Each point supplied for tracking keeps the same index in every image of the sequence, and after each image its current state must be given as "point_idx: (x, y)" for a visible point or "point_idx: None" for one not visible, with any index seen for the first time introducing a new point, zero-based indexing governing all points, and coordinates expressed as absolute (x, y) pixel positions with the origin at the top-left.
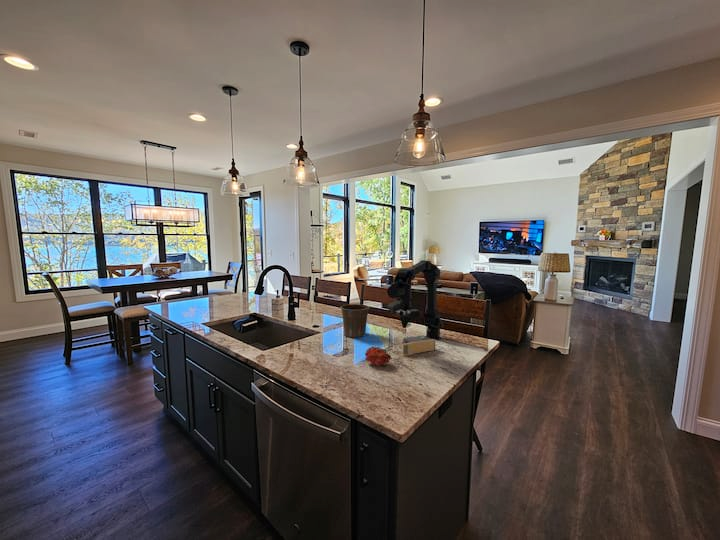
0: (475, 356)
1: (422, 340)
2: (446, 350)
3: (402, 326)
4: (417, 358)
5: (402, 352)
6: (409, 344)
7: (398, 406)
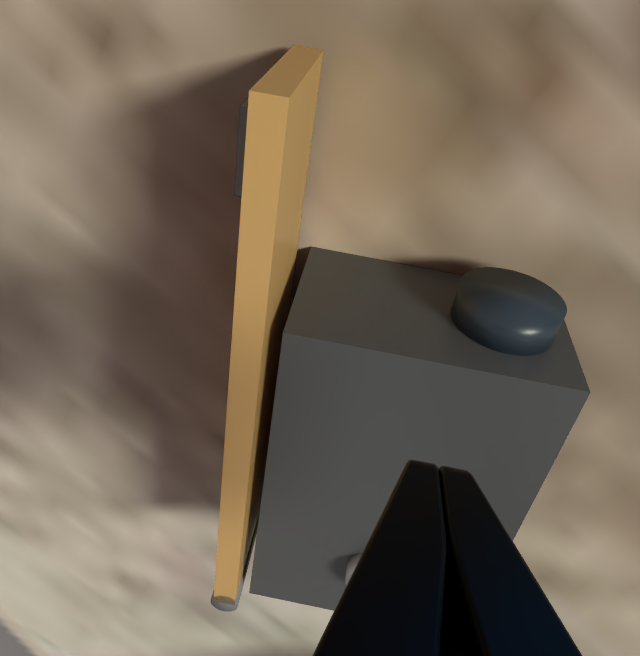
0: (4, 589)
1: (304, 508)
2: (202, 552)
3: (481, 496)
4: (131, 175)
5: (303, 56)
6: (244, 238)
7: None
